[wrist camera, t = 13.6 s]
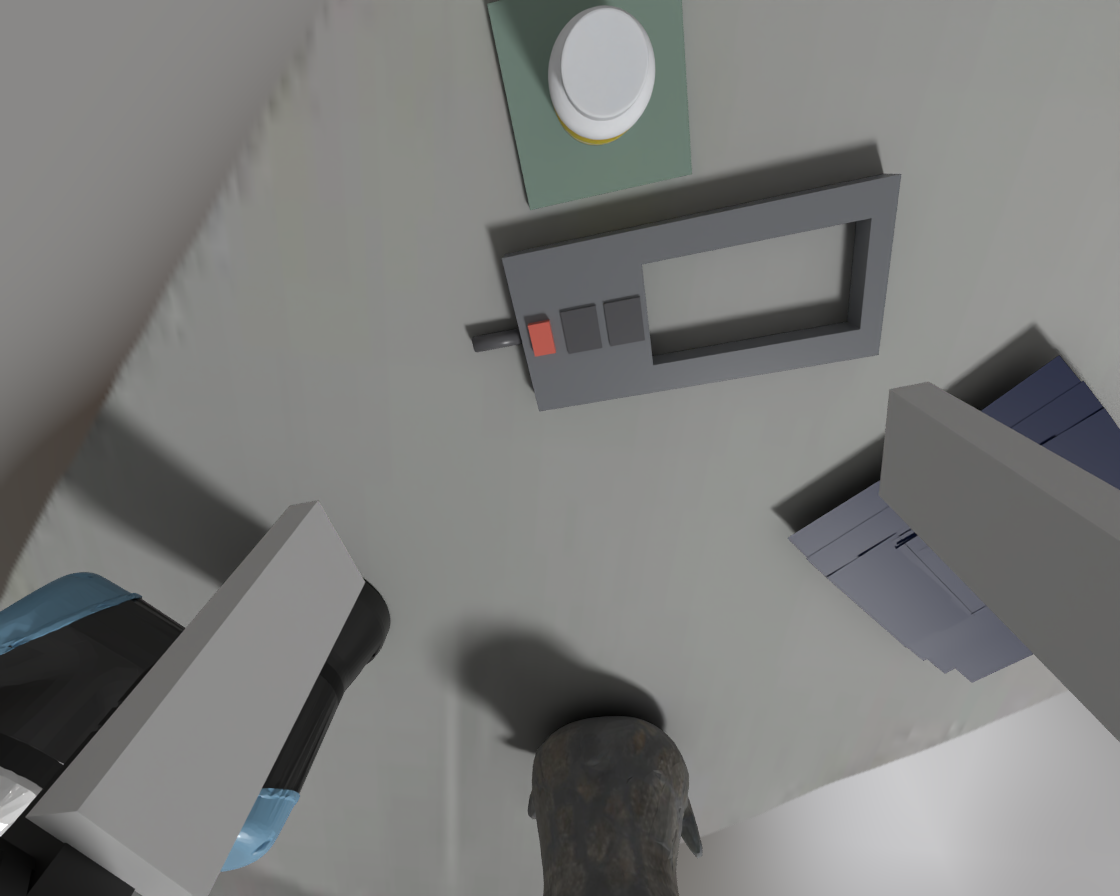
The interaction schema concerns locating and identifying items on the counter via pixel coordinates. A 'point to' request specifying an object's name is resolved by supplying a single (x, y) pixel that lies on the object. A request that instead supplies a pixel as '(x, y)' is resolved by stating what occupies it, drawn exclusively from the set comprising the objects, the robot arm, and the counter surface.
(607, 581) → the counter surface
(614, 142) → the rubber mat
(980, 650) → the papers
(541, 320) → the rectangular frame
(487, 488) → the counter surface
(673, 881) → the vessel
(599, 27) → the supplement bottle
